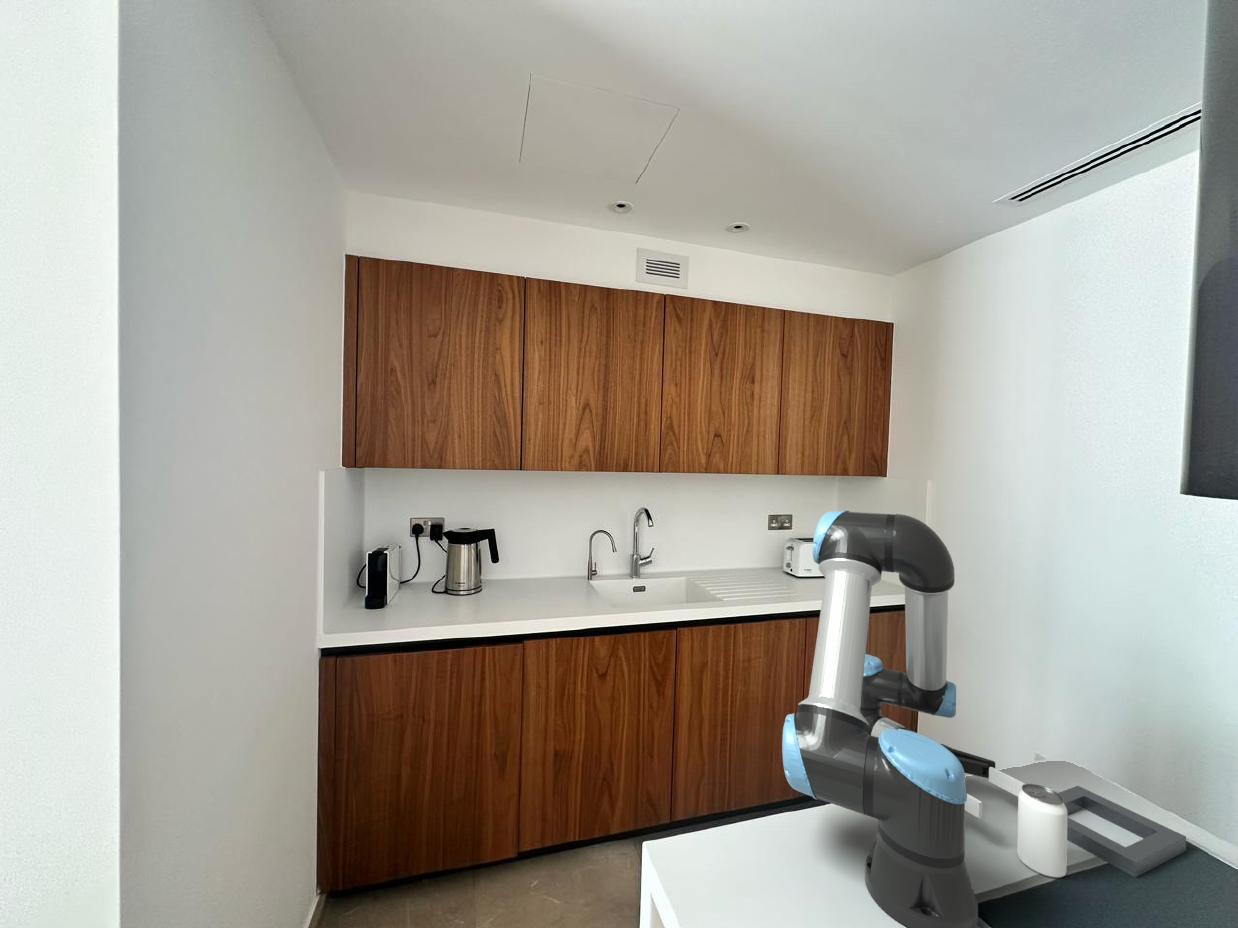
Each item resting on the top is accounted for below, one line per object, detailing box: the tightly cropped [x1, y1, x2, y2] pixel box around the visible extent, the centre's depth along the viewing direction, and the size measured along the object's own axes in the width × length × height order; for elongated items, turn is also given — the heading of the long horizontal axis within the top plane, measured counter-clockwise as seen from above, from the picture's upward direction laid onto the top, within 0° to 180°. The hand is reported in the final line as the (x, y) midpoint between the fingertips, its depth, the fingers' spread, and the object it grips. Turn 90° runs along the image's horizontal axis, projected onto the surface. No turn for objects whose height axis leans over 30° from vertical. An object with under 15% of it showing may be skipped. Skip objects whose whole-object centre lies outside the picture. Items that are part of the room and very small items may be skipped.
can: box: [1017, 783, 1068, 879], centre depth 88 cm, size 6×6×12 cm
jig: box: [1057, 785, 1187, 878], centre depth 97 cm, size 17×16×2 cm
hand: (1004, 801), depth 95 cm, fingers open, 13 cm apart
